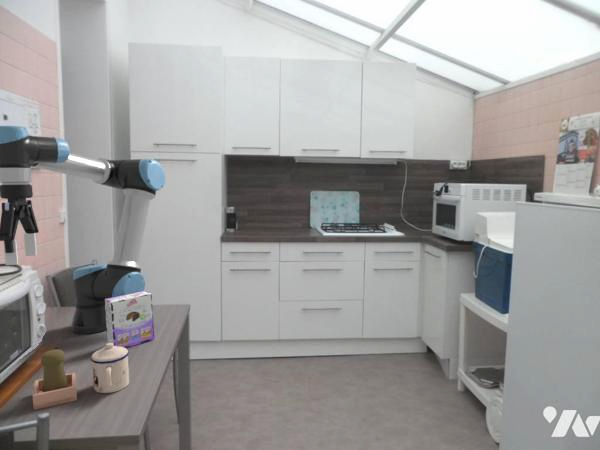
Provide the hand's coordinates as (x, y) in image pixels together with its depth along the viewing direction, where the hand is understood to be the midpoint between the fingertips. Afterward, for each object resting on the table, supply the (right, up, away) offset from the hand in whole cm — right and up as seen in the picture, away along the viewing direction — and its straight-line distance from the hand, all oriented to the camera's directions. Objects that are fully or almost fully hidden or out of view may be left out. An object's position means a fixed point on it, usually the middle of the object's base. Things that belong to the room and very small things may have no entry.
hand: (22, 260), depth 119 cm
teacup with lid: (+28, -34, -7) cm, 44 cm away
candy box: (+21, -30, +24) cm, 44 cm away
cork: (+16, -33, -11) cm, 38 cm away
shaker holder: (+16, -34, -11) cm, 39 cm away
